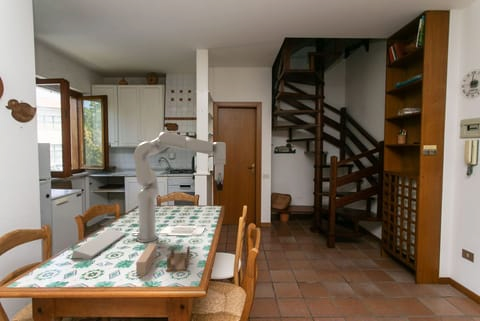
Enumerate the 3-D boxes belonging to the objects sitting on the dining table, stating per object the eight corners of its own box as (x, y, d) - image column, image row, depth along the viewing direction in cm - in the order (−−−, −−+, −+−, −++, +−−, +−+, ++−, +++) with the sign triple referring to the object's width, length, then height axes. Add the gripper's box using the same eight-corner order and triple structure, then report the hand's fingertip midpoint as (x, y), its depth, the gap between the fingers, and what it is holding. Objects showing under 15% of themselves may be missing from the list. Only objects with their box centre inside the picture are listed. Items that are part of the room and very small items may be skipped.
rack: (166, 271, 114) (166, 260, 114) (172, 254, 132) (172, 245, 132) (186, 270, 115) (186, 260, 115) (190, 254, 133) (190, 245, 133)
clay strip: (136, 275, 111) (136, 262, 111) (149, 254, 133) (149, 243, 133) (145, 275, 112) (145, 261, 111) (157, 254, 133) (156, 243, 133)
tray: (201, 237, 161) (200, 231, 160) (157, 238, 161) (157, 232, 161) (206, 227, 181) (206, 222, 181) (167, 228, 182) (167, 223, 182)
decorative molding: (123, 240, 161) (109, 235, 161) (125, 233, 160) (110, 228, 161) (89, 264, 127) (71, 259, 127) (92, 255, 126) (73, 250, 127)
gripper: (213, 161, 164) (213, 187, 165) (214, 162, 147) (213, 191, 148) (224, 161, 165) (224, 186, 166) (226, 162, 148) (226, 191, 149)
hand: (219, 189), depth 157 cm, fingers open, 9 cm apart
